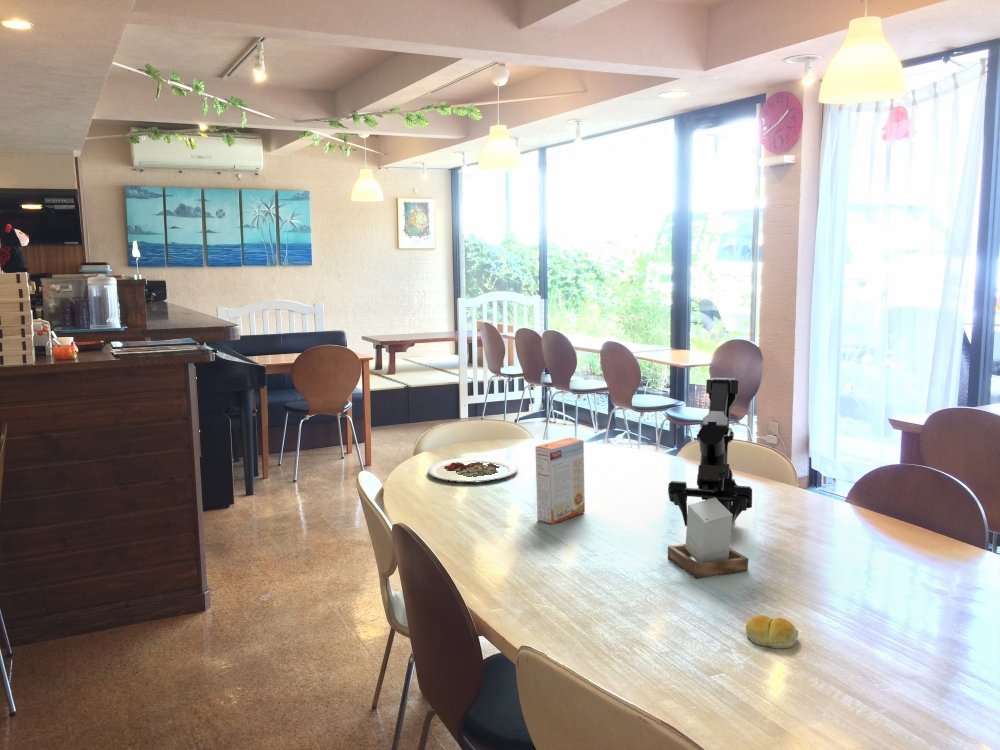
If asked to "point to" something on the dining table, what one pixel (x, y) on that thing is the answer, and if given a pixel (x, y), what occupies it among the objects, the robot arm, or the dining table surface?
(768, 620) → the bread roll
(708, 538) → the supplement box
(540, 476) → the cracker box
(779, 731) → the dining table surface
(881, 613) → the dining table surface
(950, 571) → the dining table surface
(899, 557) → the dining table surface
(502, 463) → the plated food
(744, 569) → the tray
